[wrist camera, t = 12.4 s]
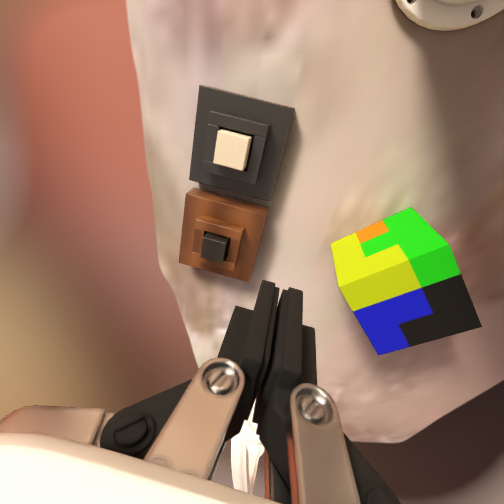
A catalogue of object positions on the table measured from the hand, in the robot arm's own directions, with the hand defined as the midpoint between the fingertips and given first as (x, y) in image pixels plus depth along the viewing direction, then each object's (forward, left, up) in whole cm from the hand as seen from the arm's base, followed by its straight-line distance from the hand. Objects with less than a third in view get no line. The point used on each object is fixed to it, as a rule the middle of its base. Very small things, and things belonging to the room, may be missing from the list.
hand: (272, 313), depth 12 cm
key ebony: (+7, +10, -21) cm, 24 cm away
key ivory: (+7, -2, -22) cm, 23 cm away
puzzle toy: (-14, +7, -25) cm, 30 cm away
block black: (+7, -2, -25) cm, 26 cm away
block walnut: (+7, +10, -25) cm, 28 cm away
